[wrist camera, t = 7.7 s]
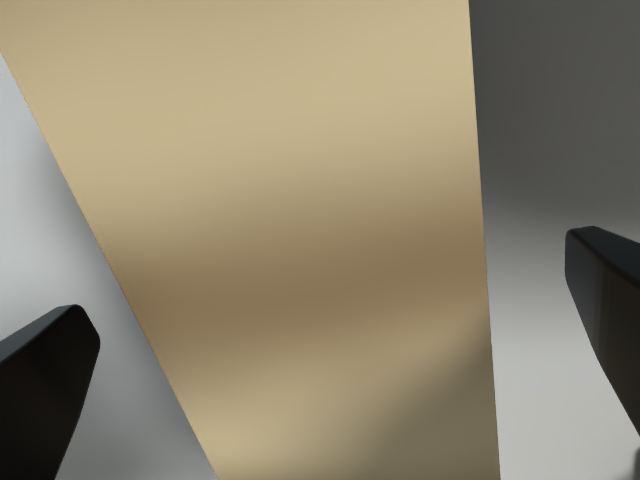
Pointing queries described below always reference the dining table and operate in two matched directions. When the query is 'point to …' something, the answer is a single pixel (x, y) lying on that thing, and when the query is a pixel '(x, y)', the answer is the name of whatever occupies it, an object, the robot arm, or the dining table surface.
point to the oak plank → (285, 218)
